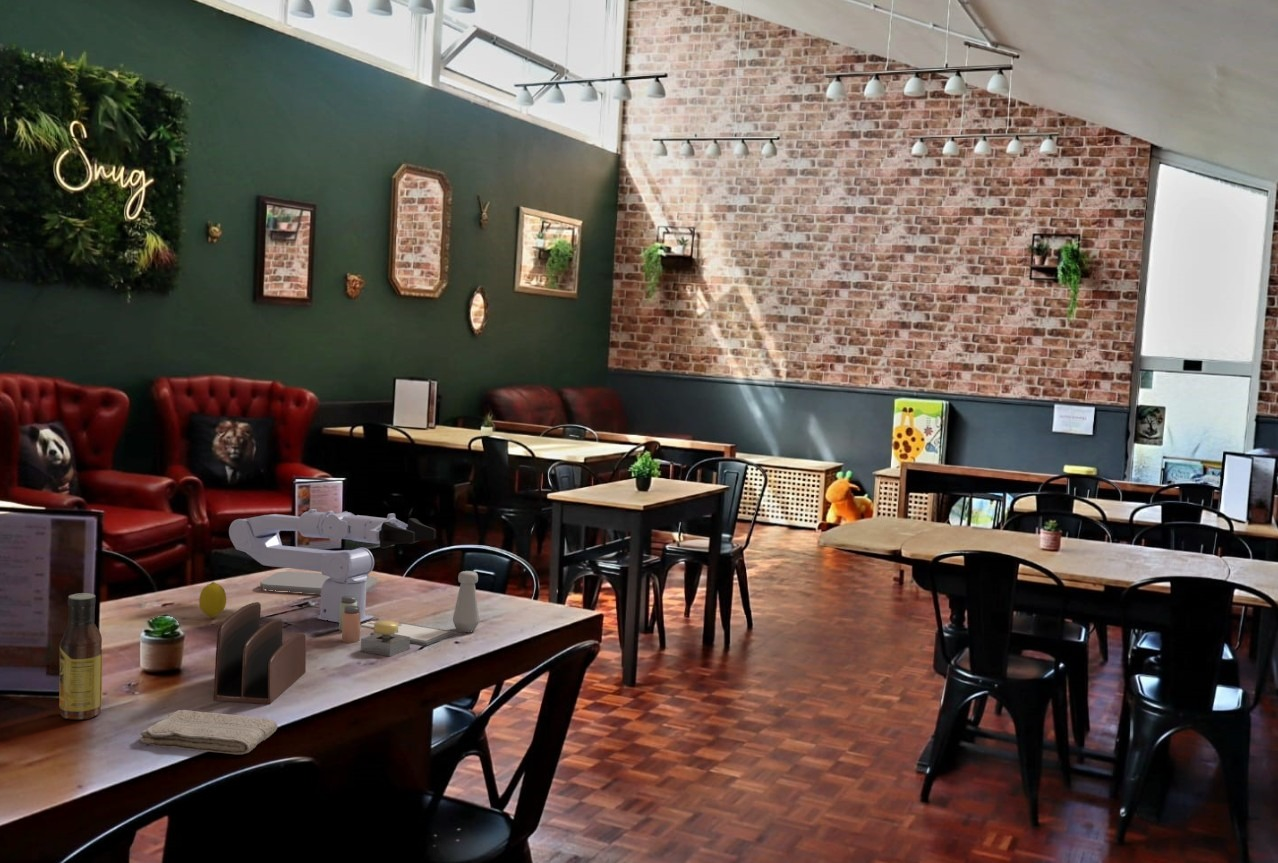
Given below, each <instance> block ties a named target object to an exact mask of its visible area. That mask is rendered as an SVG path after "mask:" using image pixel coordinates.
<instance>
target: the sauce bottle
mask: <svg viewBox="0 0 1278 863" xmlns="http://www.w3.org/2000/svg"><path fill="white" fill-rule="evenodd" d="M96 598H97V597H96V594H94V593H89V592H86V593H85V592H81V593H74V594H69V595H68V597H67V606H68V619H67V621H68V622H67V625H66V628H65V630H64V633H63V634H62V635H63V636H62V638H61V641H60V643H59V679H58V680H59V687H58V690H59V693H58V694H59V696H58V697H59V698H58V699H59V703H58V706H59V707H58V708H60V712H59V713H60V715H61V717H62V718H63V719H65V720H67V719H68V720H75V721H77V720H80V721H81V720H89V719H91V718H94V717H96V716H98V715H100V713H101V710H102V705H101V704H102V702H103V649H102V648H103V646H102V645H103V643H102V642H103V637H102V633H101V631H100V630H99V628H98V627H97V625H96V624H95V605H96Z"/></svg>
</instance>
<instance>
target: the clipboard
mask: <svg viewBox="0 0 1278 863" xmlns="http://www.w3.org/2000/svg"><path fill="white" fill-rule="evenodd" d="M397 623H398V633H395V634H397V635H403V636H409V637H410V644H416V645H421V646H429V645H432V644H434V643H436V642H439V641H441V640H444V638H445V639H447V638H449V636H450V637H452V636H455V635H456V632H455V631H452V630H446V629H441V628H435V627H429V626H423V625H418V624H411V623H404V622H397ZM374 634H376V633H375V632H374V631H372V632H370V636H371V635H374ZM454 634H455V635H454Z"/></svg>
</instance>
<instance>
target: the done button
mask: <svg viewBox="0 0 1278 863" xmlns="http://www.w3.org/2000/svg"><path fill="white" fill-rule="evenodd" d="M375 622H376V623H374V628H373V632H375V633H377V634H382V640H390V634H395V633H398V623H399V622H396V621H392V620H382V621H381V620H380V621H375Z"/></svg>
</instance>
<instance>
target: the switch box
mask: <svg viewBox="0 0 1278 863" xmlns="http://www.w3.org/2000/svg"><path fill="white" fill-rule="evenodd" d="M410 646H411V643H410V637H409V636H403V635H397V634H390V640H382V634H377V633H376V634H374V635H371V634H370V635H368V636H365V637H363V638H360V652H363V651H364V653H369V654H375V655H378V656H379V655H380V656H385V657H392V656H394V655H397V654H399V653H402V652H405V651H407V650H410V648H411V647H410Z"/></svg>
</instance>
